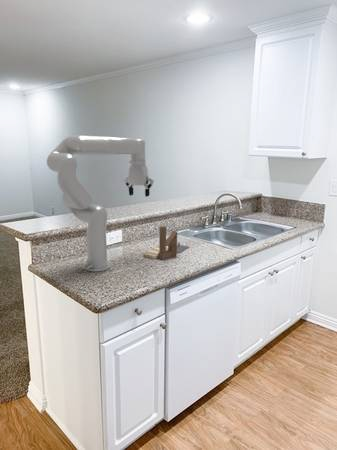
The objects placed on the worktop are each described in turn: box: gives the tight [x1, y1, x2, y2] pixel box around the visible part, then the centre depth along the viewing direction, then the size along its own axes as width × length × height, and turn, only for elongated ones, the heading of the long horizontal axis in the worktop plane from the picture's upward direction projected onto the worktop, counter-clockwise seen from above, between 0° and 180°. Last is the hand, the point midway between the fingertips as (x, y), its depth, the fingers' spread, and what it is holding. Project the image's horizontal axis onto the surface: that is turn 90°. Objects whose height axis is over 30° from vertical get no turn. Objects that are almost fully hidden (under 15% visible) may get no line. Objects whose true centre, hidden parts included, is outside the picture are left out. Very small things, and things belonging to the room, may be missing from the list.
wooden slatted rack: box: [142, 241, 181, 260], centre depth 199 cm, size 30×8×2 cm, turn 153°
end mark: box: [177, 244, 190, 254], centre depth 203 cm, size 14×6×1 cm, turn 153°
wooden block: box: [157, 225, 178, 261], centre depth 186 cm, size 4×11×18 cm, turn 131°
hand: (139, 195), depth 184 cm, fingers open, 9 cm apart
